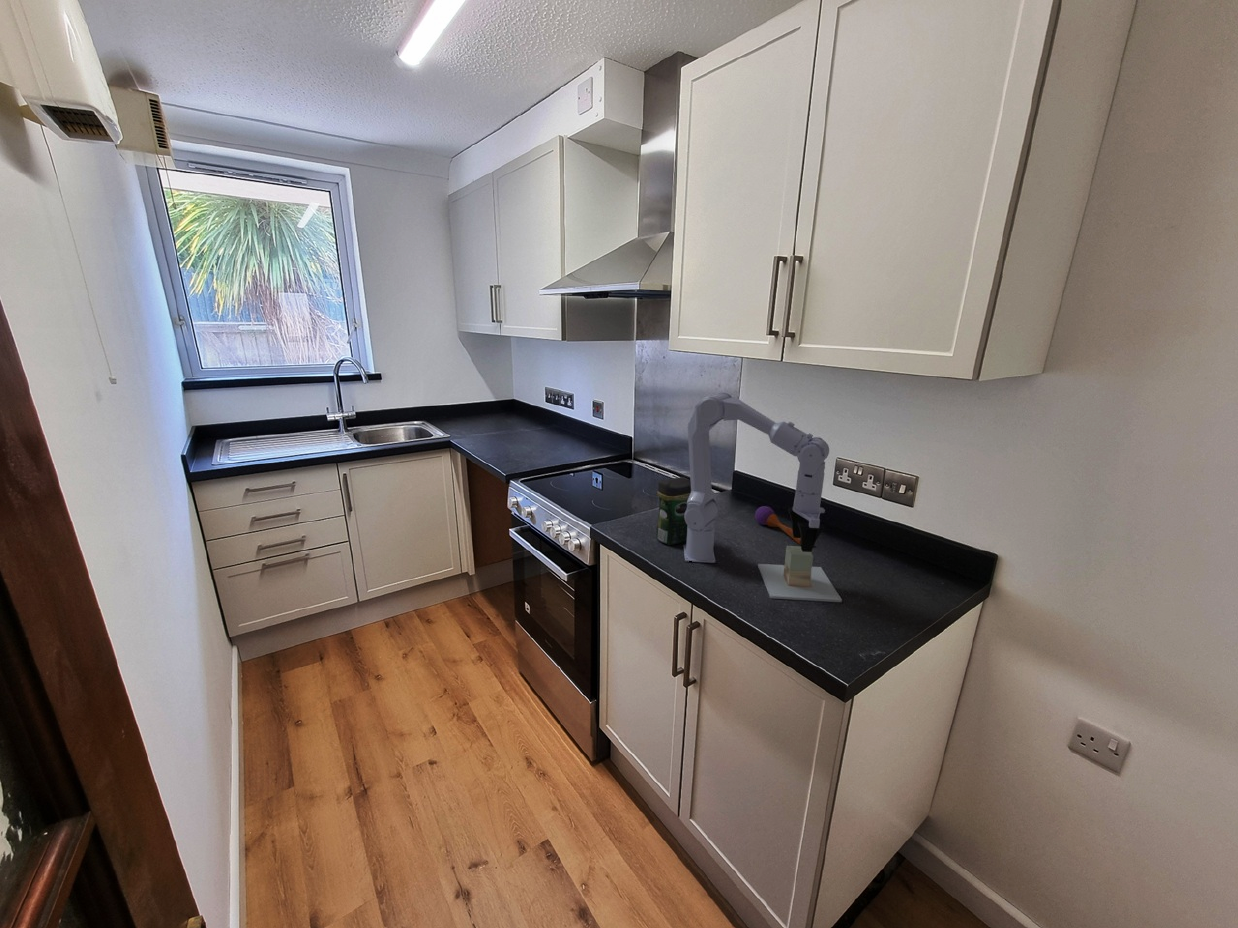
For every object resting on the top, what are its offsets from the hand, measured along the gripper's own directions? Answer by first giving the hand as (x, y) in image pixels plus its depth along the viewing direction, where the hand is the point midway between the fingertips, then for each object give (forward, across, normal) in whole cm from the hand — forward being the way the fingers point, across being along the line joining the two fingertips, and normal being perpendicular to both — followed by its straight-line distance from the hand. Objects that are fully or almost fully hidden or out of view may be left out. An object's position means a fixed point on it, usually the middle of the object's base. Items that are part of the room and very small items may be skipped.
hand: (801, 544), depth 122 cm
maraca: (+11, +31, -3) cm, 33 cm away
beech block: (+10, 0, 0) cm, 10 cm away
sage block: (+6, 0, 0) cm, 6 cm away
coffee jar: (+11, +22, +30) cm, 39 cm away
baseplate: (+10, 0, 0) cm, 10 cm away
